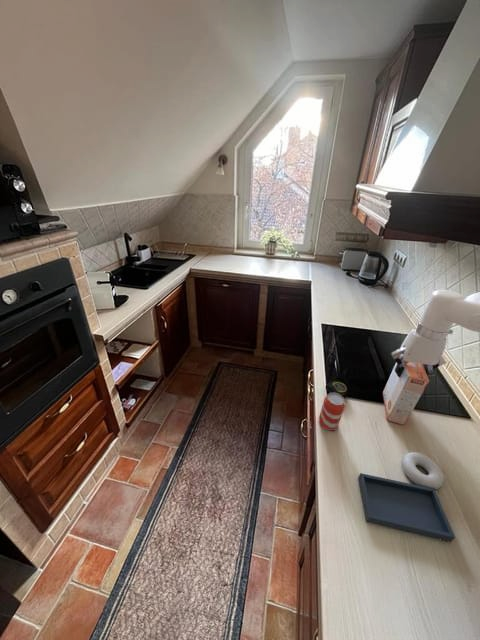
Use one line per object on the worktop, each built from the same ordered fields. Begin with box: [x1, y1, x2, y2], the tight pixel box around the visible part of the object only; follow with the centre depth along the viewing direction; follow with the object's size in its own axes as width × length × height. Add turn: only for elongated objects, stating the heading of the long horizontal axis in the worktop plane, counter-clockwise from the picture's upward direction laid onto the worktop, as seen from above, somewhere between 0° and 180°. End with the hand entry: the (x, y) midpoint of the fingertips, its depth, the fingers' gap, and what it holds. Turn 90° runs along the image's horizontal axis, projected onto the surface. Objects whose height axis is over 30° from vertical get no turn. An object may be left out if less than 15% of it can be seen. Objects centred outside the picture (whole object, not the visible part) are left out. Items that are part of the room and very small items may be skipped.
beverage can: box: [318, 392, 346, 431], centre depth 83 cm, size 6×6×12 cm
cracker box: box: [382, 354, 430, 426], centre depth 87 cm, size 14×6×21 cm, turn 159°
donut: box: [401, 451, 444, 490], centre depth 72 cm, size 10×4×10 cm
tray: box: [357, 472, 456, 543], centre depth 64 cm, size 19×11×2 cm, turn 78°
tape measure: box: [325, 380, 348, 399], centre depth 97 cm, size 7×7×4 cm
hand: (409, 375), depth 84 cm, fingers closed on cracker box, 6 cm apart
